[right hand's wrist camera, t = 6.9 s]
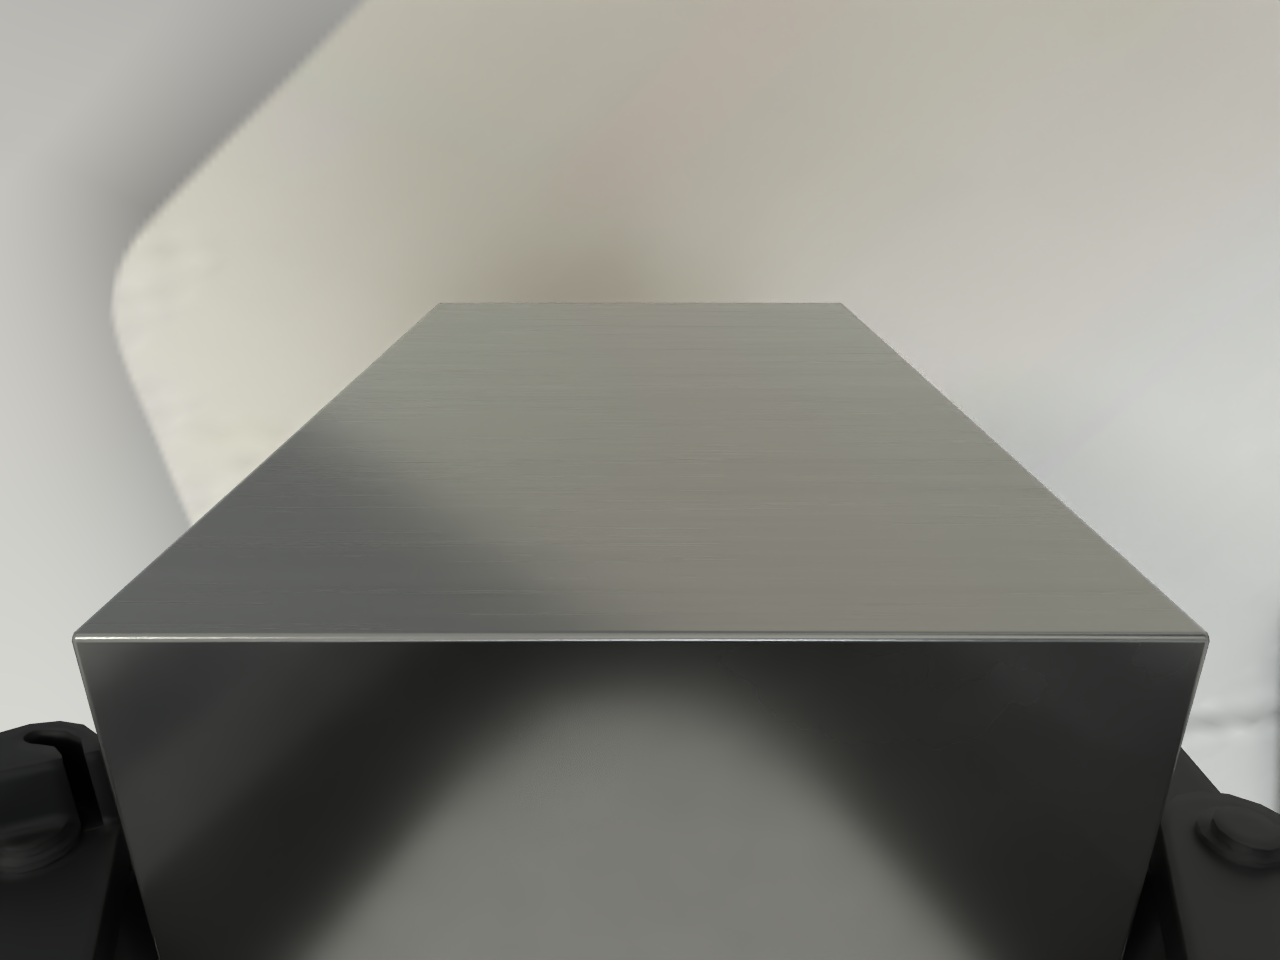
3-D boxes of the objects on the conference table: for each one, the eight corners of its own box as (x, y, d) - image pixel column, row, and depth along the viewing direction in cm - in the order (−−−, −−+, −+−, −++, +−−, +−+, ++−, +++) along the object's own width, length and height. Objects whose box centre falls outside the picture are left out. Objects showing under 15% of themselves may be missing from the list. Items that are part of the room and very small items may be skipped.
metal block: (437, 302, 16) (64, 635, 6) (842, 302, 16) (1216, 634, 6) (466, 650, 19) (250, 1311, 8) (813, 650, 19) (1030, 1311, 8)
